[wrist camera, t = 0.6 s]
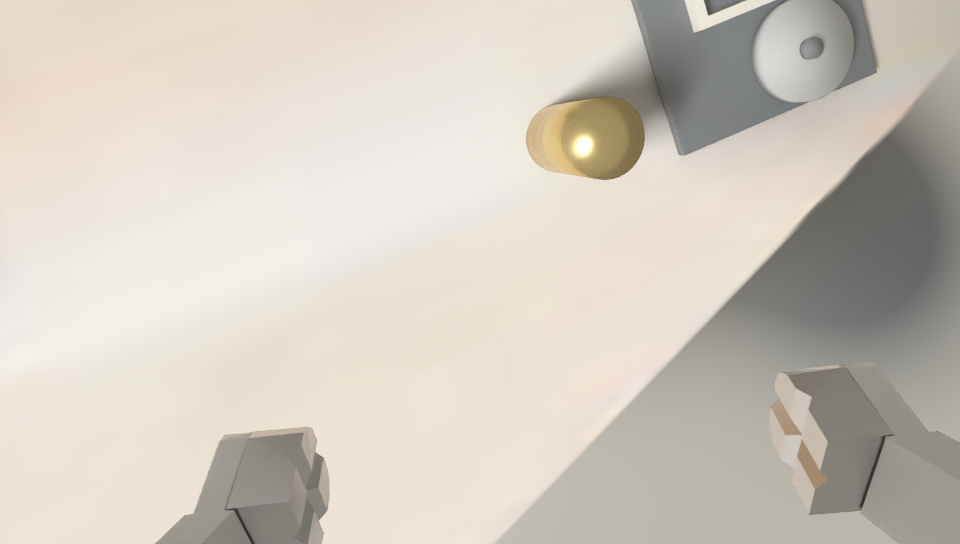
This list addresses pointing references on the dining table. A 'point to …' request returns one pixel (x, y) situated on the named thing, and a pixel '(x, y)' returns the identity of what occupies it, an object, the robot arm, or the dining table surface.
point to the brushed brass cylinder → (587, 138)
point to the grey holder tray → (748, 59)
